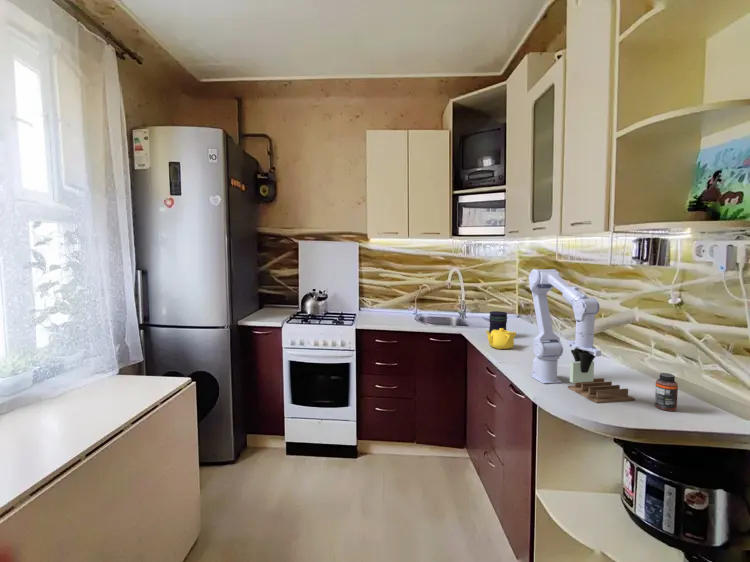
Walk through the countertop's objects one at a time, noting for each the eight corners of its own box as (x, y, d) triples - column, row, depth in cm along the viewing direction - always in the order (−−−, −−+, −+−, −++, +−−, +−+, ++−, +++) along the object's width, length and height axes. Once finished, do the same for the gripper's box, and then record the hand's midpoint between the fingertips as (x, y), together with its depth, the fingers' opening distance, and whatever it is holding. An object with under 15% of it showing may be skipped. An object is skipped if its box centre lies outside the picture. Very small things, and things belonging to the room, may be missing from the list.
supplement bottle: (667, 404, 137) (669, 371, 136) (681, 411, 131) (683, 377, 130) (649, 404, 137) (652, 371, 136) (663, 411, 131) (665, 377, 130)
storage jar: (507, 340, 231) (508, 314, 230) (490, 339, 232) (491, 313, 231) (504, 336, 241) (505, 311, 240) (487, 335, 242) (488, 311, 241)
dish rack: (567, 388, 152) (568, 378, 152) (603, 385, 155) (603, 376, 155) (596, 403, 138) (597, 392, 137) (634, 400, 140) (635, 390, 140)
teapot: (508, 352, 204) (509, 332, 203) (483, 348, 211) (484, 329, 210) (516, 347, 215) (517, 328, 214) (492, 343, 222) (493, 325, 222)
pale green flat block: (569, 381, 142) (570, 361, 142) (590, 379, 144) (590, 360, 143) (572, 382, 141) (573, 363, 140) (593, 381, 142) (594, 361, 141)
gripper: (561, 329, 147) (559, 365, 148) (588, 337, 133) (586, 378, 134) (578, 328, 148) (576, 365, 149) (607, 337, 134) (605, 377, 135)
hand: (582, 371), depth 142 cm, fingers closed on pale green flat block, 2 cm apart
